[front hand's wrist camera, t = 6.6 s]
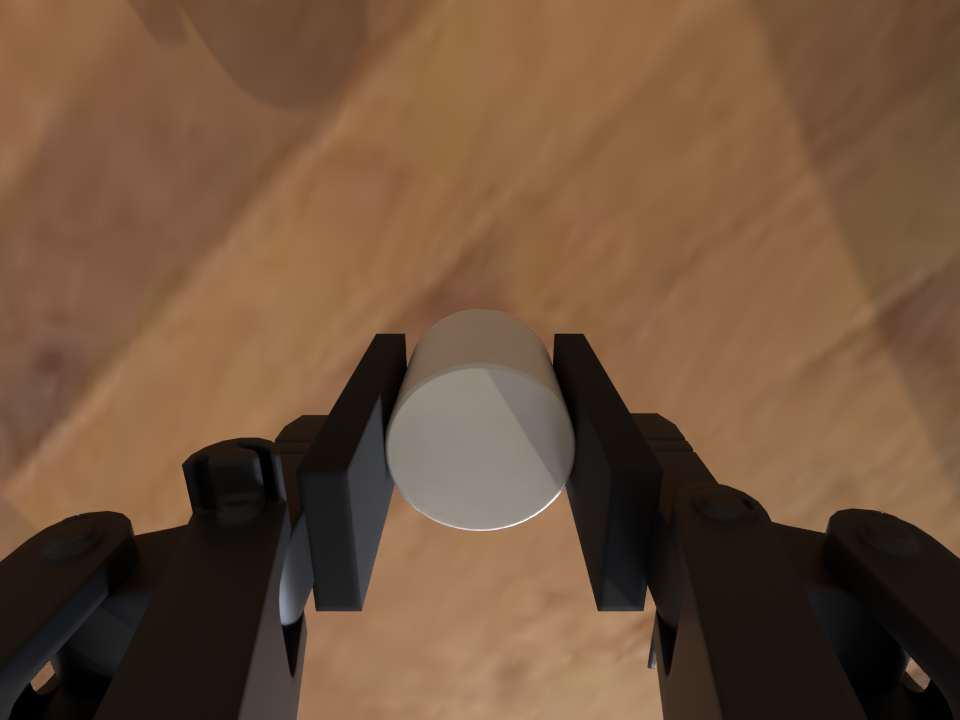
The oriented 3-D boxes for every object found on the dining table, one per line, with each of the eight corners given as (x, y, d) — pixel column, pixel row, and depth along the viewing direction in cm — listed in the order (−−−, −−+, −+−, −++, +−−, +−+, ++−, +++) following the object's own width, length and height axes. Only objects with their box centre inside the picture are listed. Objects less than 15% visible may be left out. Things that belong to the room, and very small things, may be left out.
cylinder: (555, 307, 14) (583, 364, 10) (548, 439, 15) (570, 532, 12) (405, 307, 14) (377, 363, 10) (412, 439, 15) (389, 532, 12)
